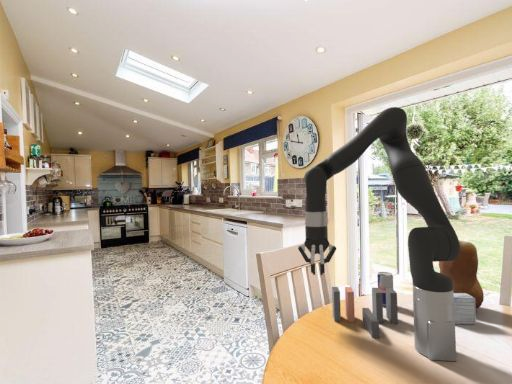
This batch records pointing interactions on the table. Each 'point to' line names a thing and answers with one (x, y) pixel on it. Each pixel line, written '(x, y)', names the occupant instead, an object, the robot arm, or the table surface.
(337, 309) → the domino
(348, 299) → the domino
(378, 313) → the domino
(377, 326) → the domino
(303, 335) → the table surface
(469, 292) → the butternut squash
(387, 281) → the energy drink
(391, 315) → the domino
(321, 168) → the robot arm
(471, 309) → the medicine box
